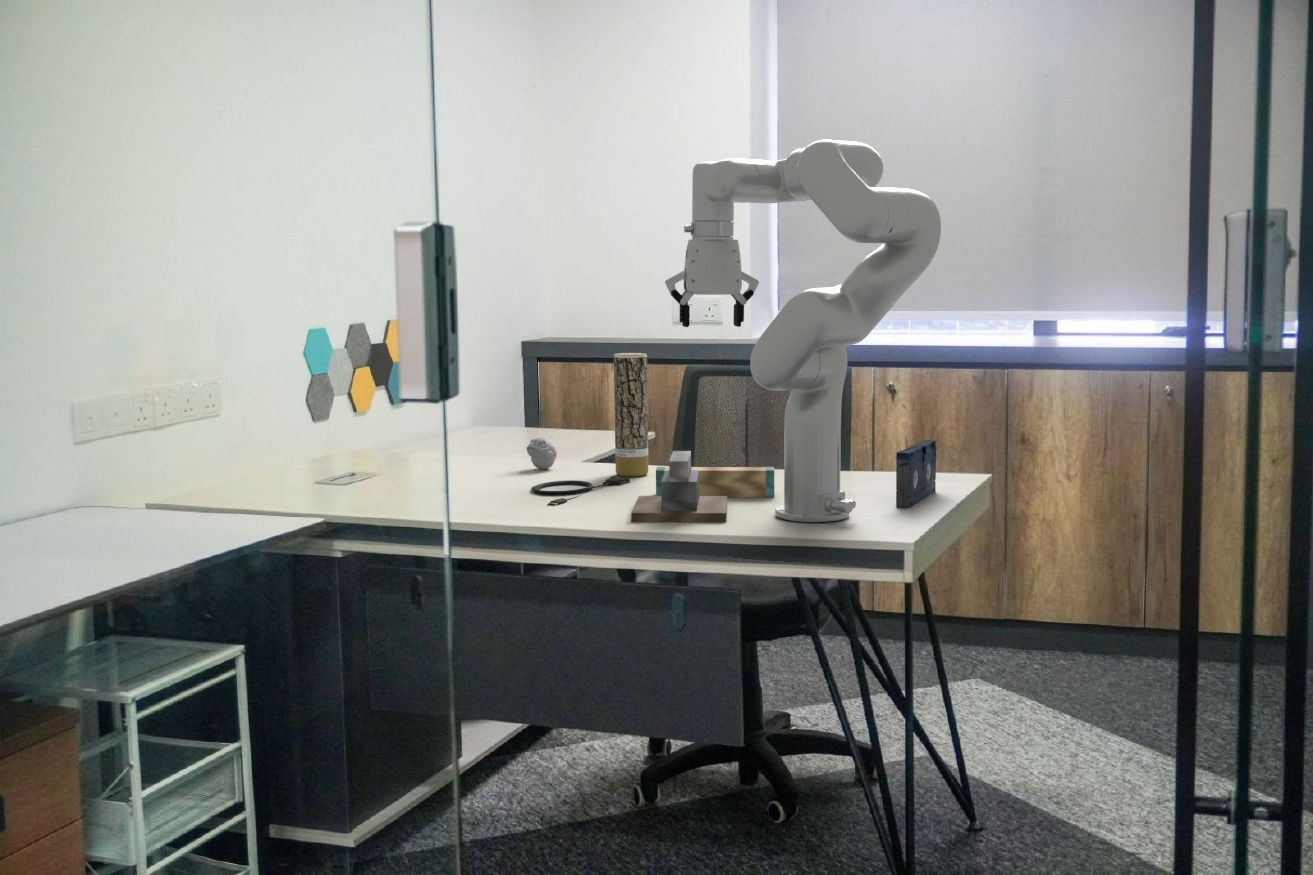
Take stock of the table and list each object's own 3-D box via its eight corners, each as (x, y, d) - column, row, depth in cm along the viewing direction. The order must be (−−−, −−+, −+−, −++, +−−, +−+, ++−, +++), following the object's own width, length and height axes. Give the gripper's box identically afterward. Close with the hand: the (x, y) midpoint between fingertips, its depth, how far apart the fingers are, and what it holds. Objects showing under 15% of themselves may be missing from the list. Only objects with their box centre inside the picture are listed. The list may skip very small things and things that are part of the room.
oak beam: (773, 493, 239) (773, 466, 238) (774, 497, 235) (774, 470, 234) (657, 493, 240) (657, 466, 240) (656, 497, 236) (655, 470, 235)
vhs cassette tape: (923, 491, 240) (923, 439, 238) (938, 492, 238) (939, 440, 237) (892, 508, 224) (893, 452, 222) (909, 509, 222) (909, 453, 221)
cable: (494, 503, 235) (494, 495, 235) (574, 479, 260) (574, 472, 260) (555, 508, 229) (555, 500, 229) (632, 484, 253) (631, 477, 253)
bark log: (644, 477, 258) (643, 355, 254) (612, 477, 259) (610, 355, 256) (651, 472, 264) (650, 353, 261) (619, 471, 266) (618, 352, 262)
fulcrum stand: (727, 504, 228) (727, 449, 227) (726, 521, 213) (725, 463, 211) (638, 504, 230) (638, 449, 228) (631, 521, 214) (630, 463, 212)
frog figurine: (520, 470, 269) (519, 437, 268) (544, 466, 275) (543, 434, 274) (540, 473, 265) (540, 440, 265) (564, 468, 271) (563, 436, 270)
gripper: (669, 231, 224) (668, 328, 227) (764, 231, 227) (762, 327, 229) (662, 231, 231) (661, 325, 234) (754, 232, 234) (752, 324, 237)
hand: (711, 326), depth 232 cm, fingers open, 9 cm apart
